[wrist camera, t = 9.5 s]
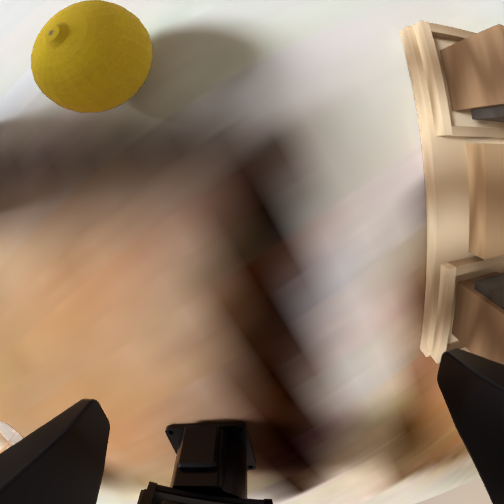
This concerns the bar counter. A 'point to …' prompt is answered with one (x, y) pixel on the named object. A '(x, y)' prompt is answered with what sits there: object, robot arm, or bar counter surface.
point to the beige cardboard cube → (477, 74)
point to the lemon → (91, 56)
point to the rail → (458, 207)
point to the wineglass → (9, 435)
